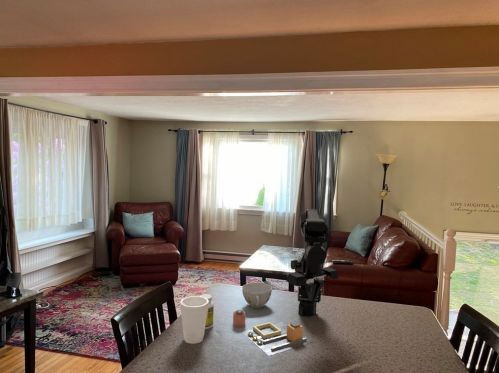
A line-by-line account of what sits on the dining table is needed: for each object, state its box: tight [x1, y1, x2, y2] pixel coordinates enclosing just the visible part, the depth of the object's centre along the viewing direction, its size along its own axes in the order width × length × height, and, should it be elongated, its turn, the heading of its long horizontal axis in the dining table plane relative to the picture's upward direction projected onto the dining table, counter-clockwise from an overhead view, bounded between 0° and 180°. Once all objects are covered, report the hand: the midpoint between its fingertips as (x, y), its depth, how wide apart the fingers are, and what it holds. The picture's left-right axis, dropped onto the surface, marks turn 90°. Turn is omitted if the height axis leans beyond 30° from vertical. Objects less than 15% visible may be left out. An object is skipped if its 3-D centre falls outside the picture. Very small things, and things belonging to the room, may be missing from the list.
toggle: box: [287, 321, 304, 341], centre depth 119 cm, size 4×4×5 cm
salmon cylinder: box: [232, 309, 246, 328], centre depth 128 cm, size 4×4×6 cm
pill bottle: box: [199, 293, 215, 330], centre depth 128 cm, size 6×6×11 cm
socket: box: [252, 321, 282, 339], centre depth 123 cm, size 7×7×1 cm
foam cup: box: [179, 295, 209, 345], centre depth 118 cm, size 10×9×13 cm
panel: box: [241, 320, 314, 357], centre depth 120 cm, size 18×17×2 cm
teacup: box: [241, 281, 273, 309], centre depth 146 cm, size 15×12×8 cm
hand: (311, 300), depth 121 cm, fingers closed
